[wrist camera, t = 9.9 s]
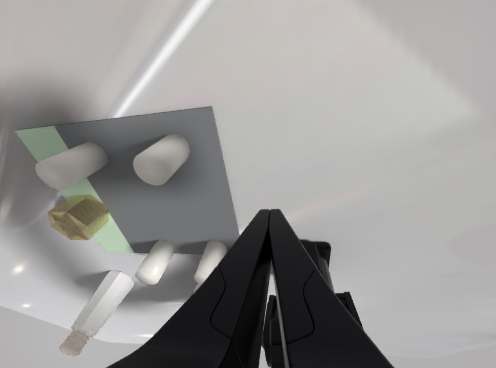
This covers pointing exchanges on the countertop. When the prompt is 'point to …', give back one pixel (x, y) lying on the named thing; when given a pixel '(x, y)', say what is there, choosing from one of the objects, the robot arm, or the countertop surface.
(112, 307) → the pepper shaker
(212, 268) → the cylinder
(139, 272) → the cylinder
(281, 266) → the robot arm
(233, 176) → the countertop surface
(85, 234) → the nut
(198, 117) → the mat
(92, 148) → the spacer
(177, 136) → the cylinder
